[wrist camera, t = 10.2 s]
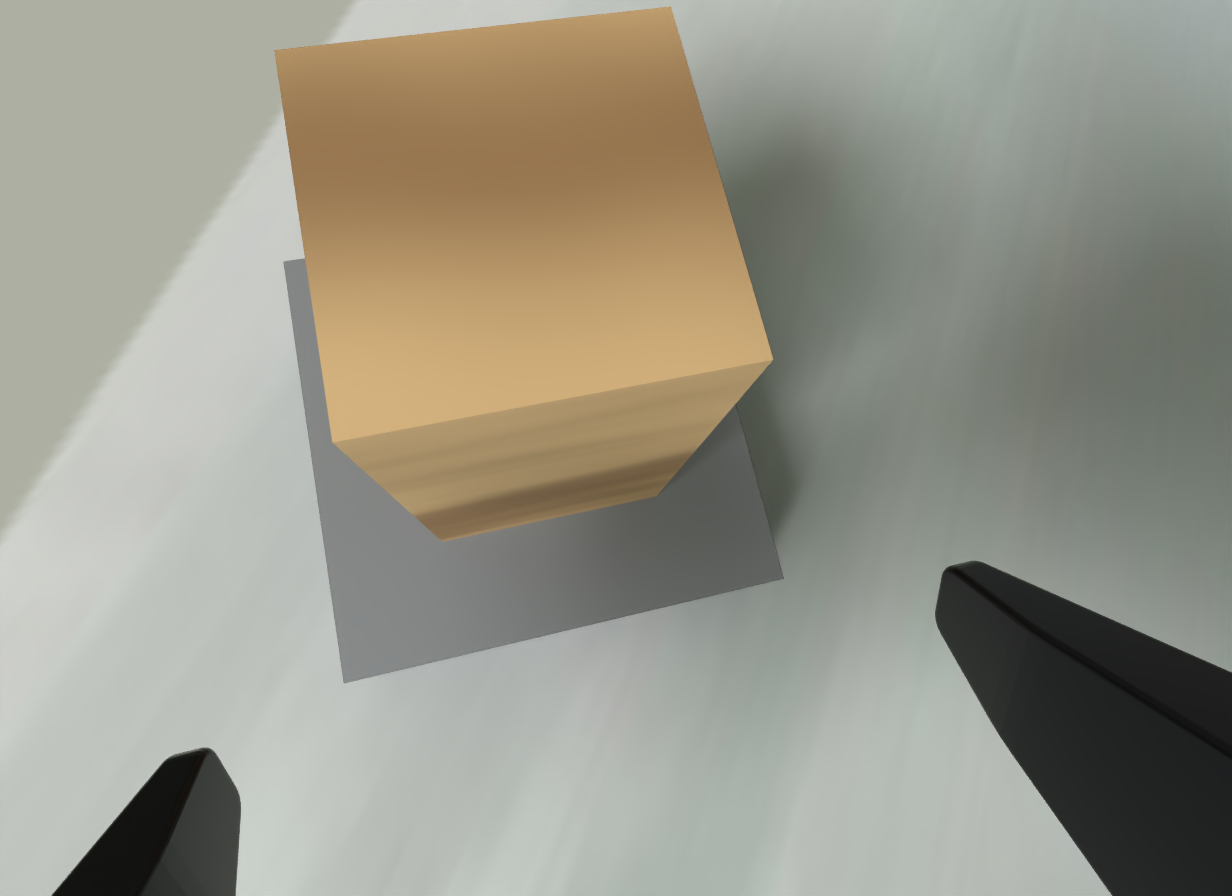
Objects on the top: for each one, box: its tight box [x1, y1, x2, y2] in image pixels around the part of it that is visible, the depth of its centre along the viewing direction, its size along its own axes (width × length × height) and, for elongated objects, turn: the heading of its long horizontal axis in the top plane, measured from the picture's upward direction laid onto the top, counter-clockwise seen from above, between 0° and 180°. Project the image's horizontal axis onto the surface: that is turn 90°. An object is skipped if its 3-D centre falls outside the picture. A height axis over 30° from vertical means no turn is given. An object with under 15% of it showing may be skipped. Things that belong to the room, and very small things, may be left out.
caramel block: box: [275, 7, 773, 542], centre depth 13 cm, size 5×5×9 cm
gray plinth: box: [284, 258, 784, 683], centre depth 19 cm, size 10×10×3 cm
